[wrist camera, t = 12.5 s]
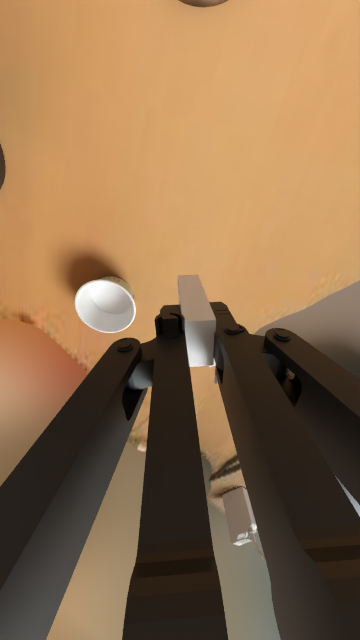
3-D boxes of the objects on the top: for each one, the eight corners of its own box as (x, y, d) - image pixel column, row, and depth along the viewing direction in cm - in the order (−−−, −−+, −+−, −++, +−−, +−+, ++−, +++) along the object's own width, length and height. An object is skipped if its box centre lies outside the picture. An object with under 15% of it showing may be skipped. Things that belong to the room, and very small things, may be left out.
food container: (132, 266, 43) (127, 275, 38) (144, 314, 49) (141, 329, 44) (77, 273, 44) (64, 284, 38) (96, 321, 50) (86, 336, 44)
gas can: (246, 484, 99) (267, 563, 77) (251, 486, 100) (274, 564, 79) (221, 494, 104) (235, 571, 82) (227, 497, 105) (242, 573, 84)
